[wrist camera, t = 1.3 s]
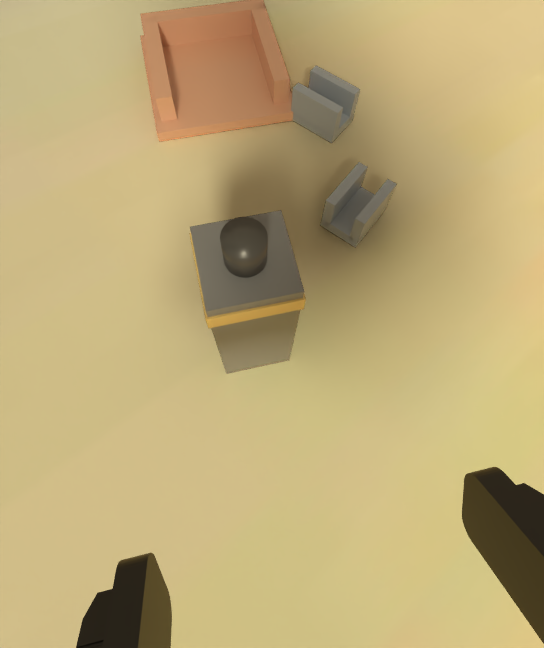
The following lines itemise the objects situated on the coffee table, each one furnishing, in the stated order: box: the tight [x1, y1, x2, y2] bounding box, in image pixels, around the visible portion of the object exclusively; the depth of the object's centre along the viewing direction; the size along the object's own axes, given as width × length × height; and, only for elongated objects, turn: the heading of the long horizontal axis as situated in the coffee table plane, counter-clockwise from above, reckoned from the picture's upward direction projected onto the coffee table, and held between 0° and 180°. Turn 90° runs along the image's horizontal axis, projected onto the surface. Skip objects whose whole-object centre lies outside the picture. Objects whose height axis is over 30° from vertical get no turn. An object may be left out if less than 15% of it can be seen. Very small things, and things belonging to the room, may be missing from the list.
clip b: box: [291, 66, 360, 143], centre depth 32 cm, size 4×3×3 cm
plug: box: [190, 210, 306, 374], centre depth 21 cm, size 4×4×12 cm
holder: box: [140, 0, 293, 141], centre depth 33 cm, size 11×11×3 cm
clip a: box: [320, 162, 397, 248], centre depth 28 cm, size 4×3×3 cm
